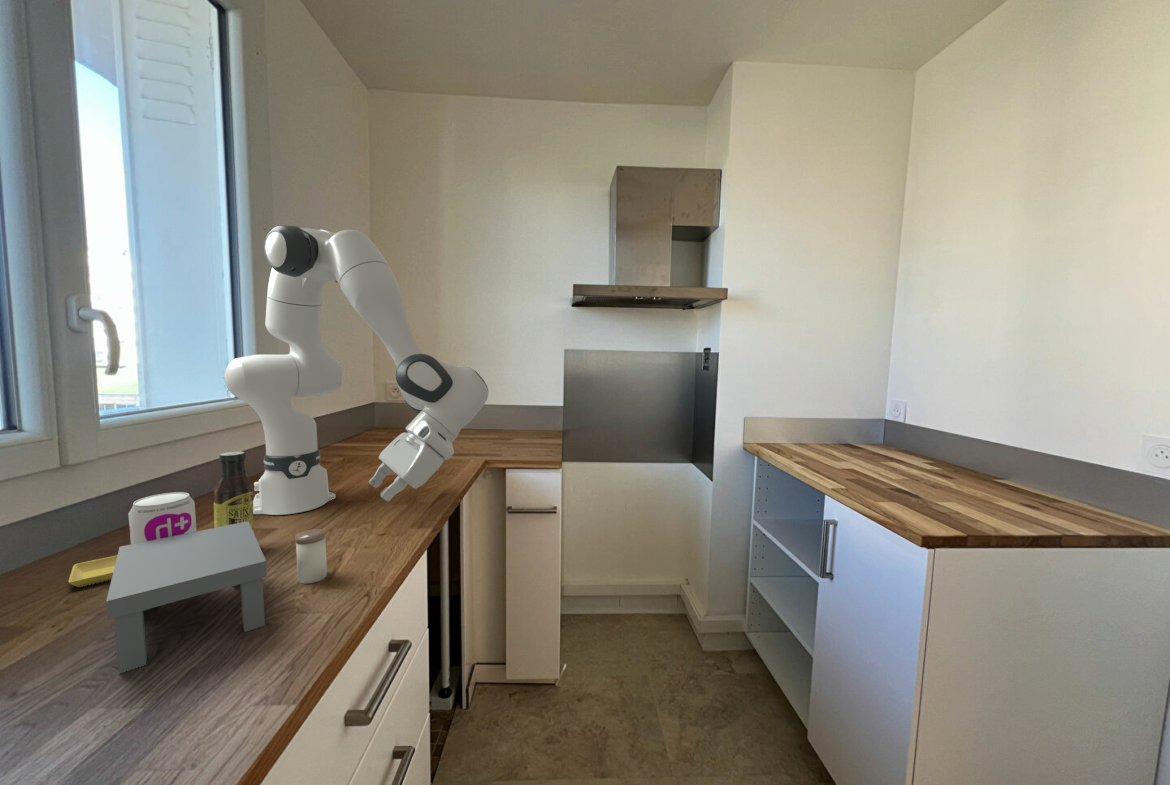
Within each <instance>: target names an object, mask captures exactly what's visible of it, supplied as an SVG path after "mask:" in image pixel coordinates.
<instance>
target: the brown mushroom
mask: <svg viewBox="0 0 1170 785" xmlns="http://www.w3.org/2000/svg"><path fill="white" fill-rule="evenodd" d="M326 537H327V531H326V530H325V529H323V528H313V529H308V530H307V529H306V530H302V531H300V532H299V533H296V534H295V536H294V542H295V548H296V550H295V551H296V552H295V553H296V572H297V582H298V583H299V584H305V585H307V584H313V583H317V582H319V581H322V580H324V579H325V578H326V577H327V576H328V566H327V565H328V564H327V560H328V559H327V546H326V545H327V544H326V543H327V541H326Z"/></svg>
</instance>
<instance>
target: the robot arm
mask: <svg viewBox="0 0 1170 785" xmlns="http://www.w3.org/2000/svg"><path fill="white" fill-rule="evenodd" d="M264 254H265V257H266V260H267V262H268V263H269V265H270V267H271V271H270V273H269V274H270V275H269V279H268V284H267V293H266V294H267V295H266V307H265V308H266V309H265V319H264V320H265V321H264V323H265V327H266V328H265V329H266V330H267V331H268V333H269V334H270V335H271V336H272V337H274V338H275V339H277V340H279V341H282V342H284V343H286V344H288V346H289V353H287V354H251V355H246V356H245V355H244V356H241V357H236V358H233V359H232V360H231V361H230V362H229V363H228V364H227V366H226V369H225V371H224V377H223V378H224V383H225V385H226V389H227V390H228V391H229V392H230V394H232V395H233V396H234V397H236V398H237V399H239V400H241V401H243V402H244V403H246V405H247V404H248V405H249V406H250V407H251V408H252V410H254V412H255V413H256V414H257V416H258V418H259V419H260V421H261V424H262V427H263V434H264V443H265V454H264V455H263V465H264V467H263V468H264V472H263V474H262V475H261V476H260V479H258V481H255V482H253V487H254V488H253V489H254V492H259V493H256V494H254V496H253V515H271V516H274V515H275V516H283V515H291V514H298V513H304V512H307V511H311V510H315V509H317V508H320V507H322V506H323V505H325V504H327V503H328V502H331V501H332V499H333V500H334V499H336V493H334V492H331V491H329V490H330V489H329V479H328V471H327V469H326V468H325V467H324V466H322V465H321V453H320V449H319V448H318V434H317V422H316V421H315V419H314V418H313V417H312V416H311V415H309V414H308V413H305V412H302V411H299V410H296V409H295V408H294V407H293V404H292V402H291V401H292V399H295V398H309V397H319V396H323V395H327V394H331V393H335V392H337V391H338V390H339V389H340V388H341V387H342V385H343V383H344V378H345V372H344V369H343V366H342V364H341V363H340V362H339V360H337V358H335V357H334V356H332V355H331V353H330V352H329V351H328V350H327V348H326V347H325V345H324V343H323V340H322V336H321V313H322V312H321V311H322V300H323V299H322V298H323V287H324V286H325V284H326V283H327V282H329V281H330V282H331V281H334V282H335V283H336V284H338V286H339V288H340V289H341V291H342V293H343V295H344V297H346V300H347V301H348V302H349V304H350V305H351V306H352V307H353V309H354V311H356V313H357V314H358V315H359V316H360V318H362V319H363V321H364V322H365V323H366V324H367V325H368V326H369V327H370V329H371V331H373V332H374V334H376V336H377V337H378V339H380V341H381V342H382V344H383V345H384V346H385V348H386V350H387V352H388V354H389V355H390V358H392V360H393V363H394V364H395V366H396V372H395V380H396V384H397V387H398V390H399V391H400V393H401V395H402V396H403V398H404V401H405V404H406V405H407V407H408V409H410V410H411V411H412V413H414V414H417V415H416V416H415V417H414V418H413V419H412V420H411V422H409V424H407V426H406V427H405V432H401V433H400V434H399V435H397V436H396V437H395V438H394V439H393V440H392V441H390V443H389V444H388V445H387V446H386V447H385V448H384V449H383V450H382V451H381V452H380V454H379V456H378V459H379V460H380V461H381V462H382V463H381V464H380V465H379V466H378V468H377V469H376V472H375V473H374V475H373V476H372V477H371V478H370V479H369V480H368V483H369V484H370V485H371V486H372V487H373V488H375V489H377V488H379V487H380V486H381V485H382V484H383V481H384V479H385V477H387V476H388V475H389V474H390V473H392V472H394V473H395V474H396V475H397V476H396V477H395V479H394V480H393V482H392V483H390V485H389V486H388V487H387V486H386V487H384V488H383V490H382V491H381V492H380V494H379V495H380V497H381V499H383V500H384V501H386V502H390V501H392V499H393V498H394V497H395V496H396V495H397V494H399V493H400V492H402V491H403V490H405V489H406V488H407V486H408V485H409V486H411V488H413V489H418V488H419V487H421V486H423V485H424V484H425V483H426V482H427V481H429V479H430V478H431V477H432V476H433V475H434V474H435V473H436V472H437V471H438V469H440V467H441V466H442V465H443V463H444V461H445V460H446V461H448V460H449V459H451V457H453V455H454V454H455V450H454V449H455V448H454V447H453V442H454V441H455V440H456V439H457V437H458V435H459V433H460V431H461V430H462V429H463V428H464V427H465V426H467V425H468V424H470V423H471V421H472V420H474V419H475V417H476V416H477V414H478V413H479V412H480V411H481V409H482V408H483V407H484V405H485V404H486V402H487V400H488V398H489V389H488V388H489V387H488V385H487V383H486V382H485V380H484V378H483V377H482V376H481V375H480V374H479V373H478V372H477V371H476V370H474V369H473V368H471V367H468V366H463V367H462V366H456V365H452V364H448V363H446V362H443V361H441V360H439V359H437V358H435V357H434V356H432V355H429V354H426V353H422V352H421V351H422V350H421V349H420V347H419V346H418V344H417V342H416V340H415V338H414V336H413V334H412V332H411V328H410V326H409V322H408V318H407V312H406V309H405V308H406V307H405V304H404V299H403V295H402V292H401V288H400V285H399V283H398V281H397V279H396V276H395V273H394V271H393V270H392V268H391V267H390V265H389V263H388V261H387V260H386V259H385V257H384V255H383V253H382V252H381V251H380V249H379V248H378V247H377V246H376V244H375V243H374V242H373V241H372V239H370V237H368V236H367V235H366V234H365V233H363V231H360V230H356V229H344V230H340V231H337V232H334V231H330V230H326V229H316V228H314V229H313V228H308V227H306V228H305V227H299V226H298V225H297V226H296V225H277V226H275V227H273V228H272V229H271V230H270V231H269V232H268V233H267V235H266V237H265V240H264Z"/></svg>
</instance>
